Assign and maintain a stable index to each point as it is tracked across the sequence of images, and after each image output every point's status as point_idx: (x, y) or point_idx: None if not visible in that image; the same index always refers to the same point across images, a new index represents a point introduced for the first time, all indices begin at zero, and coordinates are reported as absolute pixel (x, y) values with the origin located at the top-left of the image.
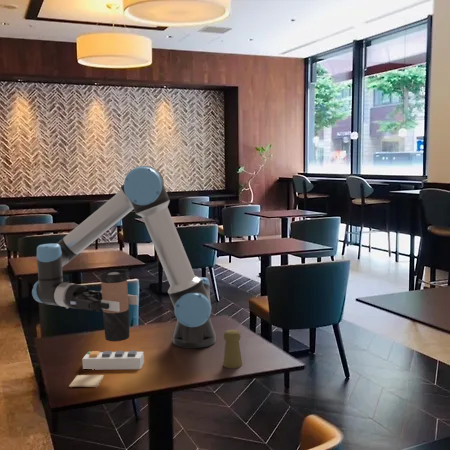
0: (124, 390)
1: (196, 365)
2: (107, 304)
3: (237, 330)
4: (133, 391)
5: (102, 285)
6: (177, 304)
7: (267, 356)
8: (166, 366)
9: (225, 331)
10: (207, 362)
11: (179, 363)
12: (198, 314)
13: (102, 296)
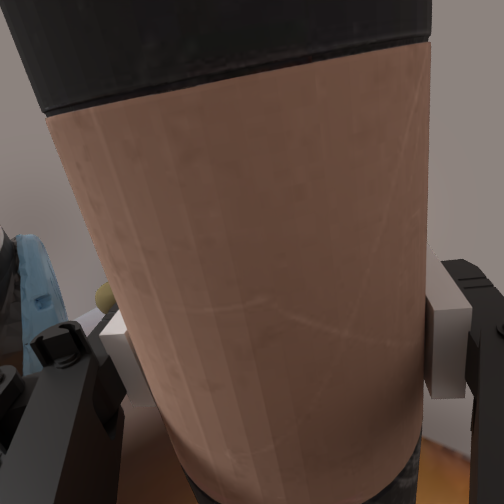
0: (440, 485)
1: (156, 414)
2: (448, 265)
3: (107, 282)
4: (420, 450)
5: (427, 106)
6: (37, 303)
7: (90, 330)
8: (178, 493)
9: (111, 295)
10: (130, 403)
11: (143, 469)
12: (61, 303)
13: (419, 290)
